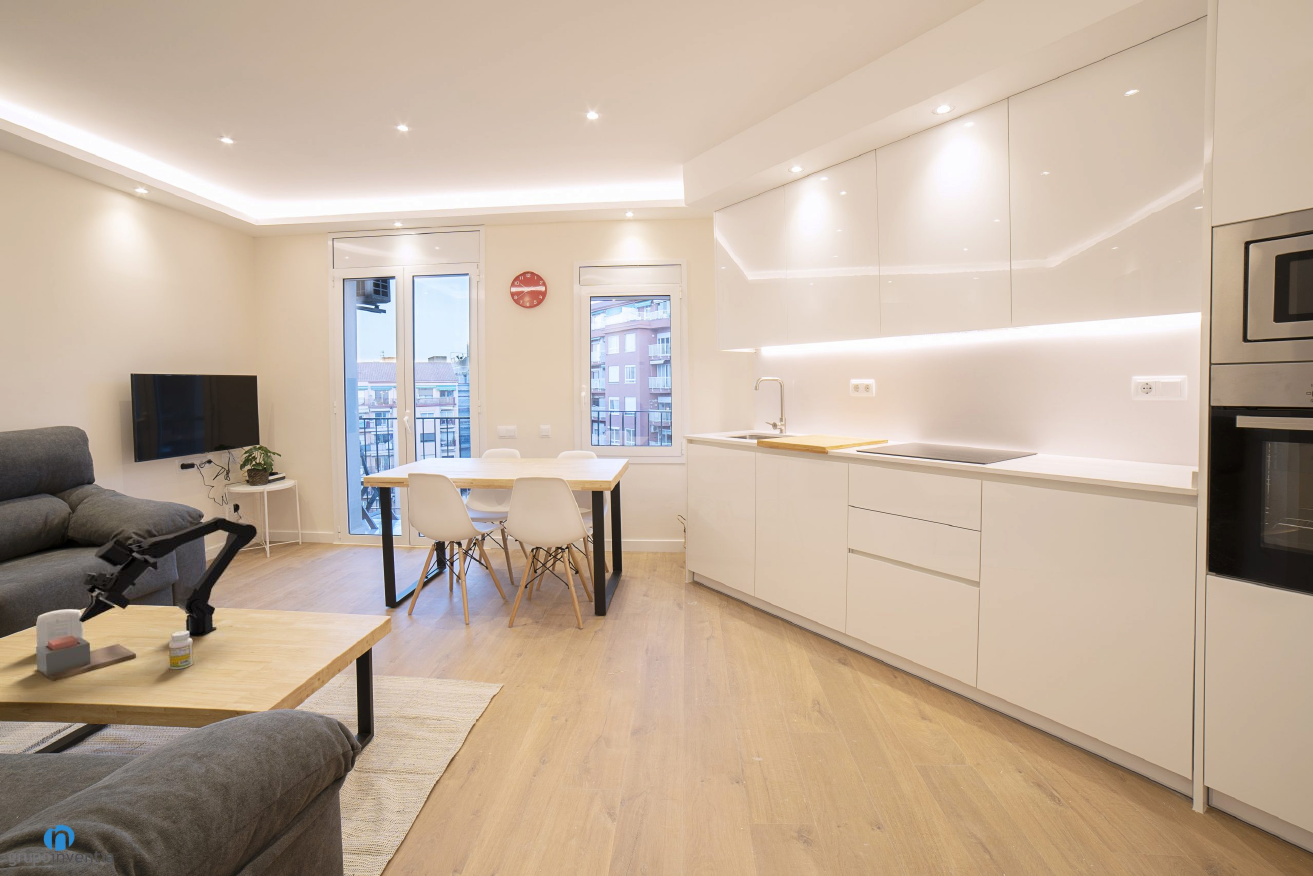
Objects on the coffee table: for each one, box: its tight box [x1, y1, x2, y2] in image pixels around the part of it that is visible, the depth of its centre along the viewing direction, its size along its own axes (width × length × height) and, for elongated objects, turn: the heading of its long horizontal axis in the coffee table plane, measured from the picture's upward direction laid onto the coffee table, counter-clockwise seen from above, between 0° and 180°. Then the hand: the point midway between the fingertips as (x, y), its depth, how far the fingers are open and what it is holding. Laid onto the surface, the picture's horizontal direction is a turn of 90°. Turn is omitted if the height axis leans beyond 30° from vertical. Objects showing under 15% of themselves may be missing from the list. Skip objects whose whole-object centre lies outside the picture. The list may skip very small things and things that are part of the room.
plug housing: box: [35, 637, 91, 675], centre depth 169 cm, size 9×9×6 cm
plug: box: [48, 635, 78, 651], centre depth 169 cm, size 5×5×6 cm
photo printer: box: [35, 608, 84, 647], centre depth 182 cm, size 10×4×12 cm, turn 123°
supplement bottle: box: [168, 630, 194, 670], centre depth 171 cm, size 5×5×10 cm
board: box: [36, 643, 137, 682], centre depth 173 cm, size 18×14×1 cm
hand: (80, 621), depth 171 cm, fingers closed
